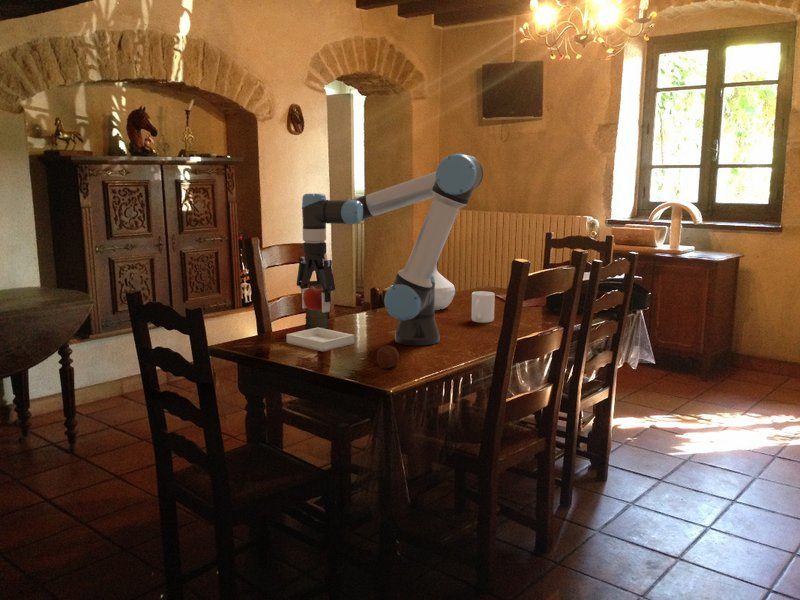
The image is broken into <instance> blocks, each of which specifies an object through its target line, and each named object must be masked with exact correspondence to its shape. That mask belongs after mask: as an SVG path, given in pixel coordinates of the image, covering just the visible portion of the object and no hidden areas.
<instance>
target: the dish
mask: <svg viewBox="0 0 800 600" xmlns="http://www.w3.org/2000/svg"><path fill="white" fill-rule="evenodd" d="M286 343H287V344H289V345H295V346H298V347H302V348H305V349H310V350H315V351H319V352H328V351H333V350H336V349H339V348H343V347H348V346H351V345H355V334H352V333H345V332H342V331H338V330H332V329H330V330H328V329H323V328H319V327H317V328H313V329H308V330H305V329H304V330H300V331H295V332H291V333H290V332H289V333H287V334H286Z"/></svg>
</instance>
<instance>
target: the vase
mask: <svg viewBox="0 0 800 600" xmlns="http://www.w3.org/2000/svg"><path fill="white" fill-rule="evenodd" d="M437 263H438V262H437ZM437 263H436V266H435V268H434V271H433V273H432V275H433V276H434V278H435V311H440V309H441V310H444V309H446V308H447V307H448V306H450V304H451V303H452V302H453V300H454V297H455V295H456V289H455V285H454V284H453V283H452V282H450V281H449V280H448V278H446V277H444V276H443V275H442V274H441V273H440V272H439V271H438V268H437V265H438V264H437Z"/></svg>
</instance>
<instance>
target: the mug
mask: <svg viewBox="0 0 800 600" xmlns="http://www.w3.org/2000/svg"><path fill="white" fill-rule="evenodd" d="M495 297H496V295H495V292H491V291H481V290H480V291H473V292H472V293H471V321H472V322H475V323H480V324H488V323H492V322H494V320H495Z"/></svg>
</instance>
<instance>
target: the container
mask: <svg viewBox="0 0 800 600" xmlns="http://www.w3.org/2000/svg"><path fill="white" fill-rule="evenodd" d="M308 286H309V287H308V288H310V287H311V286H318V287H322V285H321V282H320V280H310V282H309V285H308ZM326 288H327V287H326ZM304 319H305V324H304V327H305V328H304V330H308V329H313V328H317V327H319V328H323V329H328V330H331V328H329V326H330V324H329V316H328V312H322V310H310V309H308V308H305V318H304Z"/></svg>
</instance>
